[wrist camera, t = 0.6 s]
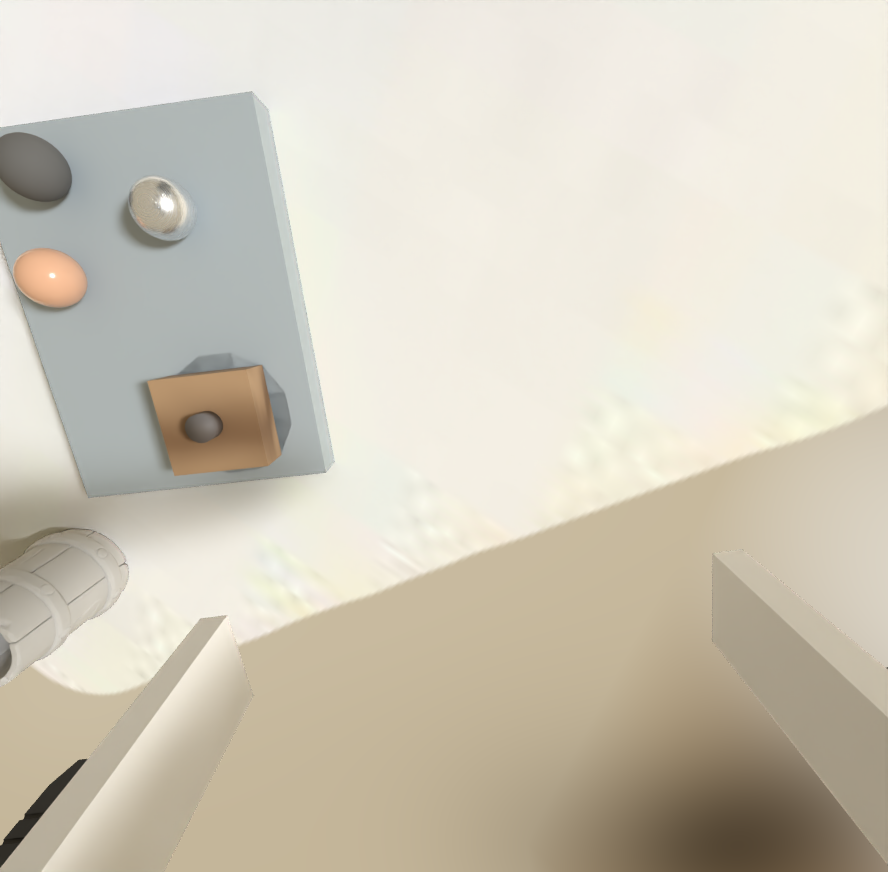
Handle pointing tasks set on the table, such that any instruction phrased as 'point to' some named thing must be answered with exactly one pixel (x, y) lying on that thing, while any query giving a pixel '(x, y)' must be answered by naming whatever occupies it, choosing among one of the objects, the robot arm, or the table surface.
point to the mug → (55, 594)
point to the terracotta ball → (50, 277)
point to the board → (169, 287)
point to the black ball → (33, 167)
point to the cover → (216, 420)
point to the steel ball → (162, 207)
